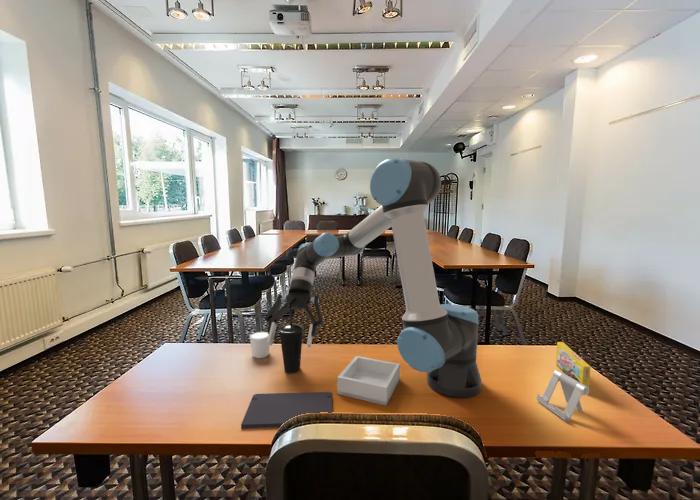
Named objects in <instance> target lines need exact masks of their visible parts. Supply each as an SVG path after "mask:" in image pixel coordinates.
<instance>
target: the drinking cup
mask: <svg viewBox="0 0 700 500" xmlns="http://www.w3.org/2000/svg"><path fill="white" fill-rule="evenodd" d="M304 329H305V328H304V326H303V324H298V323H294V322H293V309H292V308H290V311H289V323H286V324H284V325H281V326H280V327H279V328H278V332H279V337H280V343H281V345H280V347H281V352H282V359H283V361H282V362H283V368H284V372H285V373H287V374H295V373H298V372H300V371H301V361H302V360H301V358H302V348H303V347H302V343H303V332H304Z"/></svg>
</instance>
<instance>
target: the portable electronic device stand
mask: <svg viewBox="0 0 700 500" xmlns="http://www.w3.org/2000/svg"><path fill="white" fill-rule="evenodd" d="M558 382H559V383H560V385H561V389H562V393H563V396H564V399H565V401H566V402H565V403H567V404H566V406H565V409H564V411H563V410H562V409H560V407H557V406H554V405H553V404H552V403H550V400H551V398H552V396H553V393H554V391H555V389H556V387H557V385H558ZM588 393H590V387H589V388H588V387H587V386H585V385H583V384H581V383H580V382H578V381H576V380H574V379H573V378H571V377H569V376H568V375H566V374H564V373H563V372H562V371H561V370H560V369H559V370H558V369H556V370H554V372H553V373H552V376H551V378H550V380H549V382H548V384H547V387H546V389H545V390H544V393H543V395H540V394H536V395H537V396H536V401H537V402H538V403H540V404H541V405H543V406H544V407H545V408H547V410H549V411H551V412H552V413H554V415H556V416H558V417H559V418H560V419H561V420H562V421H564V422H565V423H567V422H570V421H571V419H572V416H573V414H574V412H575V410H576V409H577V410H578V412H581V413H583V412H584V411H583V407H582V404H581V400H580V399H581V397H582V396H587V395H588Z"/></svg>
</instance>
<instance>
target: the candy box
mask: <svg viewBox="0 0 700 500" xmlns="http://www.w3.org/2000/svg"><path fill="white" fill-rule="evenodd" d="M555 360H556V361H555V362H556V363H555V366H556V367H557V368H558V369H559V371H561V372H562V373H564V374H566V375H568V376H569V377H571V378H573V379H574V380H576V381H578V382H580V383H581V384H583V385H585V386H587V387H588V388H589V389H590V379H591V378H590V377H591V365H589V364H588V363H587V362H586V361H585V360H584V359H583V358H582V357H580V355H578V354H577V353H576V352H575V351H573V349H571V348H570V347H569V346H568V345H567V344H566V343H565V342H563V341H558V342H557V344H556V359H555ZM589 393H590V392H589ZM589 393H588V394H589ZM588 394H587V395H588Z"/></svg>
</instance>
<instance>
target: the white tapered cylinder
mask: <svg viewBox="0 0 700 500" xmlns="http://www.w3.org/2000/svg"><path fill="white" fill-rule="evenodd" d="M268 336H269V334H268V332H267V331H257V332H254V333H251V334H249V341H250V347H251V354H252V357H253V358H257V359H262V358H266V357H267V356H269V354H270V346H271V345H269V344H268V342H267V340H268Z"/></svg>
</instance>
